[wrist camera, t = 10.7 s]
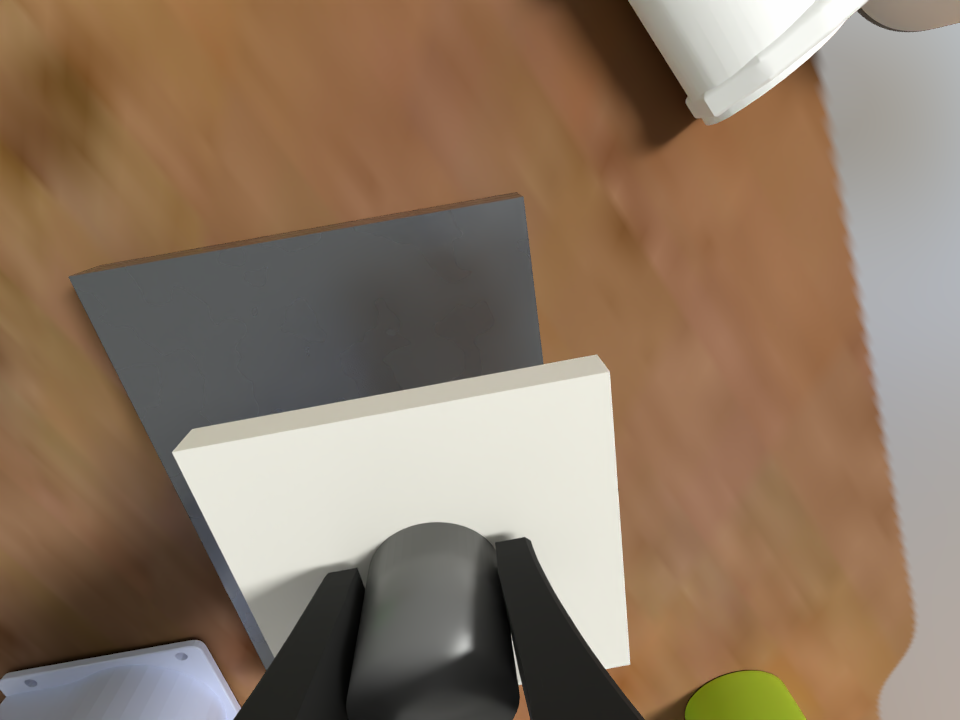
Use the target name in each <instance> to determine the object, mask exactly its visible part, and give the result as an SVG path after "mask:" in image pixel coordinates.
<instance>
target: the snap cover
mask: <svg viewBox="0 0 960 720" xmlns="http://www.w3.org/2000/svg"><path fill="white" fill-rule="evenodd" d="M172 454H173V456H174V458H175V460H176V462H177V464H178V466H179V468H180V470H181V472H182V474H183V476H184V478H185V480H186V482H187V484H188V486H189V488H190V490H191V492H192V494H193V496H194V498H195V500H196V502H197V504H198V506H199V508H200V510H201V512H202V514H203V516H204V518H205V520H206V522H207V524H208V526H209V528H210V530H211V532H212V534H213V536H214V538H215V540H216V542H217V544H218V546H219V548H220V550H221V552H222V554H223V556H224V558H225V560H226V562H227V564H228V566H229V568H230V570H231V572H232V574H233V576H234V578H235V580H236V582H237V584H238V586H239V588H240V590H241V592H242V594H243V596H244V598H245V600H246V602H247V604H248V606H249V608H250V610H251V612H252V614H253V616H254V618H255V620H256V622H257V624H258V626H259V628H260V630H261V632H262V634H263V636H264V638H265V640H266V642H267V644H268V646H269V648H270V650H271V652H272V654H273V656H274V658H275V657H276V655H277V654H278V652H279V650H280V649H281V647H282V646H283V644H284V643H285V641H286V640H287V638H288V636H289V635H290V633H291V631H292V630H293V628H294V627H295V625H296V623H297V622H298V620H299V619H300V617H301V615H302V614H303V612H304V610H305V609H306V607H307V605H308V604H309V602H310V600H311V599H312V597H313V595H314V594H315V592H316V590H317V589H318V587H319V585H320V584H321V582H322V581H323V579H324V577H325V576H326V575H327V574H328V573H330V572H336V571H341V570H347V569H352V568H358V571H359V573H360V576H361V579H362V582H363V585H364V587H365V594H364V600H363V606H362V611H361V617H360V623H359V629H358V635H357V641H356V647H355V653H354V659H353V665H352V671H351V677H350V682H349V688H348V694H347V702H346V710H347V715H348V718H349V720H513V718H514V716H515V714H516V712H517V709H518V706H519V699H520V695H519V687H518V685H521V684H522V682H521V678H520V674H519V670H518V665H517V660H516V655H515V651H514V646H513V641H512V636H511V631H510V625H509V621H508V616H507V612H506V607H505V602H504V597H503V592H502V588H501V583H500V578H499V573H498V565H497V556H496V547H495V542H500V541H505V540H511V539H516V538H522V537H526V538H528V539H529V540H531V542H532V546H533V548H534V551H535V554H536V556H537V558H538V561H539V563H540V565H541V567H542V569H543V571H544V573H545V575H546V577H547V579H548V581H549V582H550V584H551V586H552V588H553V590H554V592H555V593H556V595H557V597H558V599H559V600H560V602H561V604H562V605H563V607H564V608H565V610H566V612H567V613H568V615H569V616H570V618H571V619H572V621H573V623H574V624H575V626H576V627H577V629H578V631H579V632H580V634H581V635H582V637H583V638H584V639H585V641H586V642H587V644H588V645H589V647H590V648H591V650H592V651H593V653H594V654H595V655H596V657H597V658H598V659H599V661H600V662H601V664H602V665H603V666H604V668H605V669H608V668H614V667H619V666H625V665H630V655H629V640H628V626H627V612H626V597H625V583H624V569H623V554H622V540H621V526H620V512H619V497H618V483H617V469H616V454H615V440H614V426H613V411H612V397H611V383H610V371H609V370H608V369H607V367H606V366H605V365H604V363H603V362H602V361H601V359H600V358H599V357H598V355H592V356H587V357H581V358H576V359H570V360H565V361H559V362H554V363H549V364H543V365H538V366H532V367H527V368H521V369H516V370H510V371H505V372H500V373H494V374H489V375H483V376H478V377H472V378H467V379H462V380H456V381H451V382H445V383H440V384H434V385H429V386H423V387H418V388H413V389H407V390H402V391H396V392H391V393H385V394H380V395H375V396H369V397H364V398H358V399H353V400H347V401H342V402H336V403H331V404H326V405H320V406H315V407H309V408H304V409H298V410H293V411H288V412H282V413H277V414H271V415H266V416H260V417H255V418H249V419H244V420H239V421H233V422H228V423H222V424H217V425H211V426H206V427H201V428H195V429H192V430H191V431H190V432H189V433H188V434H187V435H186V437H185V438H184V439H183V440H182V441H181V442H180V443H179V445H178V446H177V447H176V448H175V449H174V450H173V452H172Z"/></svg>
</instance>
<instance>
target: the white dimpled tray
mask: <svg viewBox="0 0 960 720" xmlns="http://www.w3.org/2000/svg"><path fill="white" fill-rule="evenodd" d="M628 1H629V3H630V5H631V6H632V8H633V9H634V11H635V13H636V14H637V16H638V17H639V19H640V21H641V22H642V24H643V25H644V27H645V29H646V30H647V32H648V33H649V35H650V37H651V38H652V40H653V41H654V43H655V45H656V46H657V48H658V49H659V51H660V53H661V54H662V56H663V57H664V59H665V61H666V62H667V64H668V65H669V67H670V69H671V70H672V72H673V73H674V75H675V77H676V78H677V80H678V81H679V83H680V85H681V86H682V88H683V89H684V91H685V93H686V94H687V96H688V97H687V98H686V105H687V106H688V108H689V109H690V111H691V113H692V114H693V116H694V117H695V118H702V120H703V121H704V123H705V125H712V124H716V123H718V122H720V121H723V120H725V119H726V118H728V117H730V116H732V115H733V114H735V113H736V112H738V111H740V110H741V109H743V108H744V107H746V106H747V105H749V104H750V103H752V102H753V101H755V100H756V99H758V98H759V97H760V96H762V95H763V94H765V93H766V92H767V91H769V90H770V89H771V88H773V87H774V86H775V85H777V84H778V83H779V82H781V81H782V80H783V79H785V78H786V77H787V76H788V75H790V74H791V73H792V72H793V71H795V70H796V69H797V68H798V67H799V66H801V65H802V64H803V63H804V62H805V61H807V60H808V59H809V58H810V57H811V56H812V55H813V54H814V53H815V52H817V51H818V50H819V49H820V48H821V47H822V46H823V45H824V44H825V43H826V42H827V41H828V40H829V39H830V38H831V37H832V36H833V35H834V34H835V33H836V32H837V31H838V29H839V28H840V27H841V26H842V25H843V23H844V22H845V21H846V20H847V19H848V18H849V17H850V16H851V15H852V14H854V13H855V12H856V11H857V12H858V13H859V14H860V15H861V16H862V17H864V18H865V19H866V20H868V21H870V22H871V23H873V24H874V25H877V26H879V27H881V28H884V29H887V30H892V31H897V32H919V31H925V30H930V29H934V28H939V27H943V26H947V25H952V24H956V23H960V0H628Z"/></svg>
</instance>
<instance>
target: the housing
mask: <svg viewBox="0 0 960 720" xmlns="http://www.w3.org/2000/svg"><path fill="white" fill-rule="evenodd" d="M69 279H70V281H71V283H72V285H73V287H74V289H75V291H76V293H77V295H78V297H79V299H80V301H81V303H82V305H83V307H84V308H85V310H86V312H87V314H88V316H89V318H90V320H91V322H92V324H93V326H94V328H95V330H96V332H97V334H98V336H99V338H100V340H101V342H102V344H103V346H104V348H105V350H106V352H107V354H108V356H109V358H110V360H111V362H112V364H113V366H114V368H115V370H116V372H117V374H118V376H119V378H120V380H121V382H122V384H123V386H124V388H125V390H126V392H127V394H128V396H129V398H130V400H131V402H132V404H133V406H134V408H135V410H136V412H137V414H138V416H139V418H140V420H141V422H142V424H143V426H144V428H145V430H146V432H147V434H148V436H149V438H150V440H151V442H152V444H153V446H154V448H155V450H156V452H157V454H158V456H159V458H160V460H161V462H162V464H163V466H164V468H165V470H166V472H167V474H168V476H169V478H170V480H171V482H172V484H173V486H174V488H175V490H176V492H177V494H178V496H179V498H180V500H181V502H182V504H183V506H184V508H185V510H186V512H187V514H188V516H189V518H190V520H191V522H192V523H193V525H194V527H195V529H196V531H197V533H198V535H199V537H200V539H201V541H202V543H203V545H204V547H205V549H206V551H207V553H208V555H209V557H210V559H211V561H212V563H213V565H214V567H215V569H216V571H217V573H218V575H219V577H220V579H221V581H222V583H223V585H224V587H225V589H226V591H227V593H228V595H229V597H230V599H231V601H232V603H233V605H234V607H235V609H236V611H237V613H238V615H239V617H240V619H241V621H242V623H243V625H244V627H245V629H246V631H247V633H248V635H249V637H250V639H251V641H252V643H253V645H254V647H255V649H256V651H257V653H258V655H259V657H260V659H261V661H262V663H263V665H264V667H265V669H266V671H267V669H268V668H269V666H270V664H271V663H272V661H273V660H274V656H273V654H272V652H271V650H270V648H269V646H268V644H267V642H266V640H265V638H264V636H263V634H262V632H261V630H260V628H259V626H258V624H257V622H256V620H255V618H254V616H253V614H252V612H251V610H250V608H249V606H248V604H247V602H246V600H245V598H244V596H243V594H242V592H241V590H240V588H239V586H238V584H237V582H236V580H235V578H234V576H233V574H232V572H231V570H230V568H229V566H228V564H227V562H226V560H225V558H224V556H223V554H222V552H221V550H220V548H219V546H218V544H217V542H216V540H215V538H214V536H213V534H212V532H211V530H210V528H209V526H208V524H207V522H206V520H205V518H204V516H203V514H202V512H201V510H200V508H199V506H198V504H197V502H196V500H195V498H194V496H193V494H192V492H191V490H190V488H189V486H188V484H187V482H186V480H185V478H184V476H183V474H182V472H181V470H180V468H179V466H178V464H177V462H176V460H175V458H174V456H173V454H172V452H173V450H174V449H175V448H176V447H177V446H178V445H179V443H180V442H181V441H182V440H183V439H184V438H185V437H186V435H187V434H188V433H189V432H190V431H191V430H192V429H195V428H201V427H206V426H211V425H217V424H222V423H228V422H233V421H239V420H244V419H249V418H255V417H260V416H266V415H271V414H277V413H282V412H288V411H293V410H298V409H304V408H309V407H315V406H320V405H326V404H331V403H336V402H342V401H347V400H353V399H358V398H364V397H369V396H375V395H380V394H385V393H391V392H396V391H402V390H407V389H413V388H418V387H423V386H429V385H434V384H440V383H445V382H451V381H456V380H462V379H467V378H472V377H478V376H483V375H489V374H494V373H500V372H505V371H510V370H516V369H521V368H527V367H532V366H538V365H543V357H542V348H541V340H540V331H539V323H538V315H537V306H536V298H535V290H534V281H533V273H532V265H531V256H530V248H529V239H528V231H527V223H526V214H525V206H524V198H523V196H521V195H520V194H518V193H517V192H516V193H510V194H504V195H499V196H493V197H487V198H482V199H476V200H470V201H465V202H459V203H453V204H447V205H442V206H436V207H430V208H425V209H419V210H413V211H408V212H402V213H396V214H391V215H385V216H379V217H373V218H368V219H362V220H356V221H351V222H345V223H339V224H334V225H328V226H322V227H316V228H311V229H305V230H299V231H294V232H288V233H282V234H277V235H271V236H265V237H260V238H254V239H248V240H242V241H237V242H231V243H225V244H220V245H214V246H208V247H203V248H197V249H191V250H185V251H180V252H174V253H168V254H163V255H157V256H151V257H146V258H140V259H134V260H129V261H123V262H117V263H111V264H106V265H100V266H97V267H94V268H91V269H88V270H86V271H83V272H80V273H77V274H74V275H72V276H69Z"/></svg>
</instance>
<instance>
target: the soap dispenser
mask: <svg viewBox="0 0 960 720" xmlns="http://www.w3.org/2000/svg"><path fill="white" fill-rule="evenodd" d="M685 720H807V719H806V718H805V716H804V715H803V713H802V712H801V710H800V708H799V707H798V705H797V704H796V702H795V701H794V699H793V697H792V696H791V694H790V693H789V691H788V690H787V688H786V686H785V685H784V683H783V682H782V681H781V680H780V679H779V678H778V677H776V676H774V675H772V674H770V673H767V672H762V671H739V672H734V673H730V674H727V675H724V676H721V677H719V678H716V679H714V680H712V681H711V682H709V683H707V684H706V685H704V686H703V687H701V688H700V689H699V690H698V691H697V692H696V693H695V694H694V695H693V696H692V697H691V699H690V700H689V702H688V704H687V706H686V709H685Z"/></svg>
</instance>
